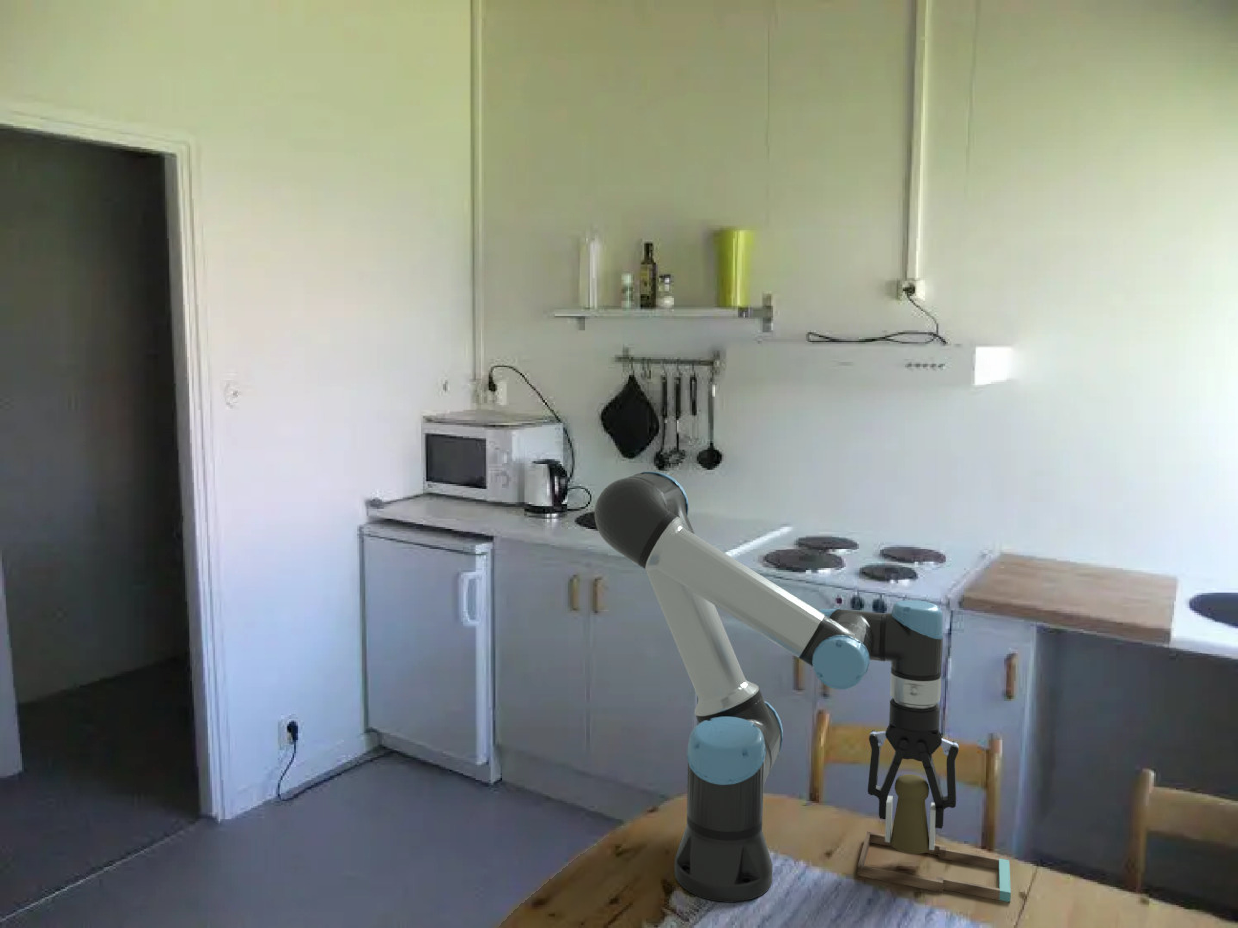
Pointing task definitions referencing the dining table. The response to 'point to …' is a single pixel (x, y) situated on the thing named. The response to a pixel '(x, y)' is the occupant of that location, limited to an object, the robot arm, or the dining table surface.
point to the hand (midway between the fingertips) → (909, 841)
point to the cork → (911, 815)
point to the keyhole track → (941, 883)
